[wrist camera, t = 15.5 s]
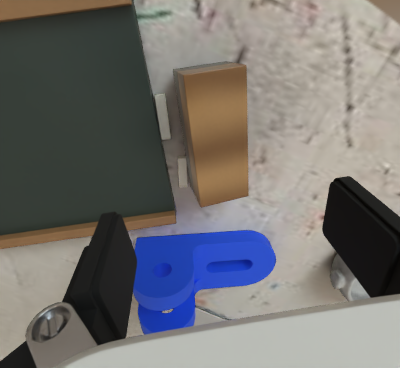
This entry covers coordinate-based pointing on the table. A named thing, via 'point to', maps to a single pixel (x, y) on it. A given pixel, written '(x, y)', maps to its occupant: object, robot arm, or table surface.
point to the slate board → (76, 122)
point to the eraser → (214, 129)
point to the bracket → (193, 272)
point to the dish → (346, 281)
